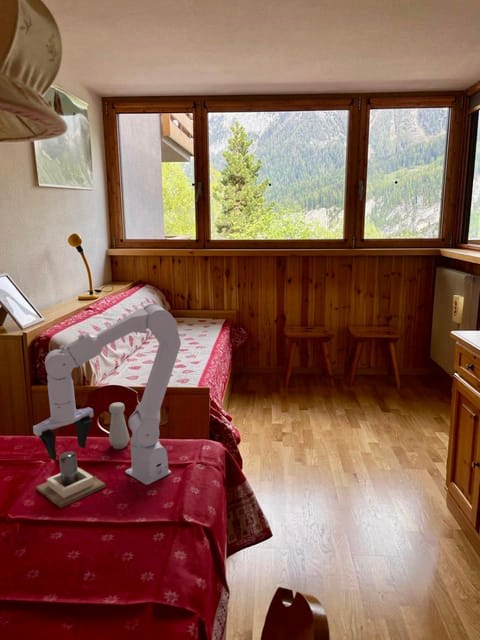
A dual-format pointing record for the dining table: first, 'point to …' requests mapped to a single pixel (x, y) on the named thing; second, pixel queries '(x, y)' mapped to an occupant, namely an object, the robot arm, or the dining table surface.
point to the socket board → (70, 488)
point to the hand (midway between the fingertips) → (67, 452)
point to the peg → (68, 468)
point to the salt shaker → (118, 426)
